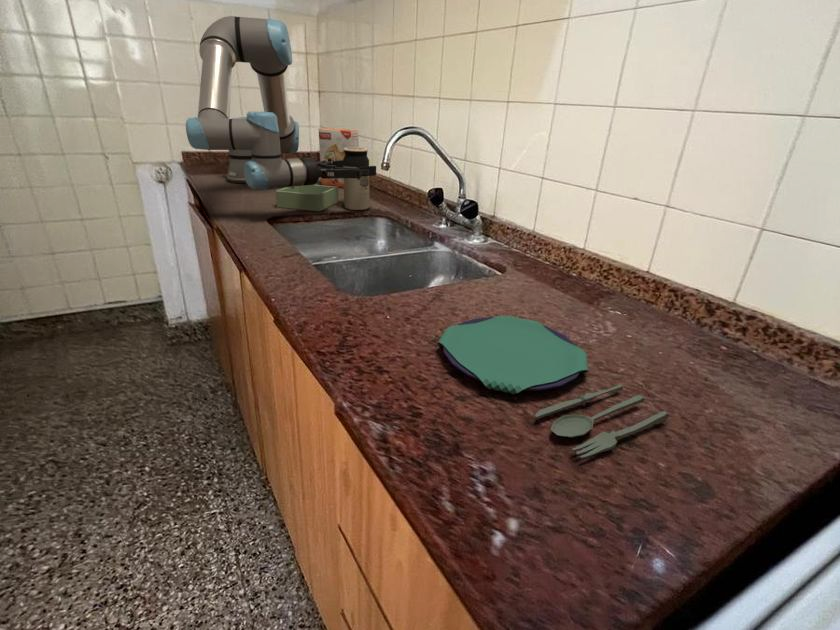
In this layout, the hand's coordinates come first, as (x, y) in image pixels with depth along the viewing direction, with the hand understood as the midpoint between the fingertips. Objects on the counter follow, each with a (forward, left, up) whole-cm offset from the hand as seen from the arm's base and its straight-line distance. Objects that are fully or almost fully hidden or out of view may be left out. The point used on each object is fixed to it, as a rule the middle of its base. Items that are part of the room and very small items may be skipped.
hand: (362, 167), depth 141 cm
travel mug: (+2, -1, -13) cm, 13 cm away
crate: (+4, -17, -12) cm, 22 cm away
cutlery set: (+85, +56, -13) cm, 102 cm away
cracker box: (-29, -20, -13) cm, 38 cm away
